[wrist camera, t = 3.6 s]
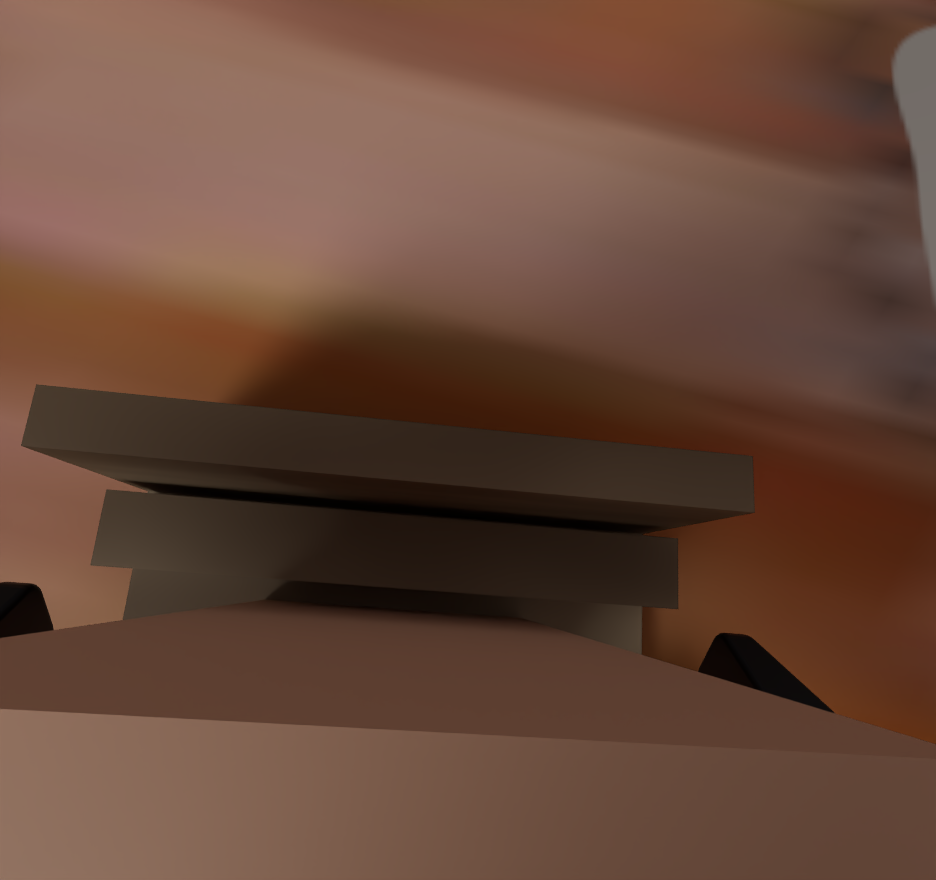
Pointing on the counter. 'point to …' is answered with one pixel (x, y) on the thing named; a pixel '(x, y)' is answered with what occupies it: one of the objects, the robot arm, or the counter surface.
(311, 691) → the beige flat slab
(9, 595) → the robot arm
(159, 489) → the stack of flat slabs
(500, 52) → the counter surface
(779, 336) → the counter surface
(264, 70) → the counter surface
